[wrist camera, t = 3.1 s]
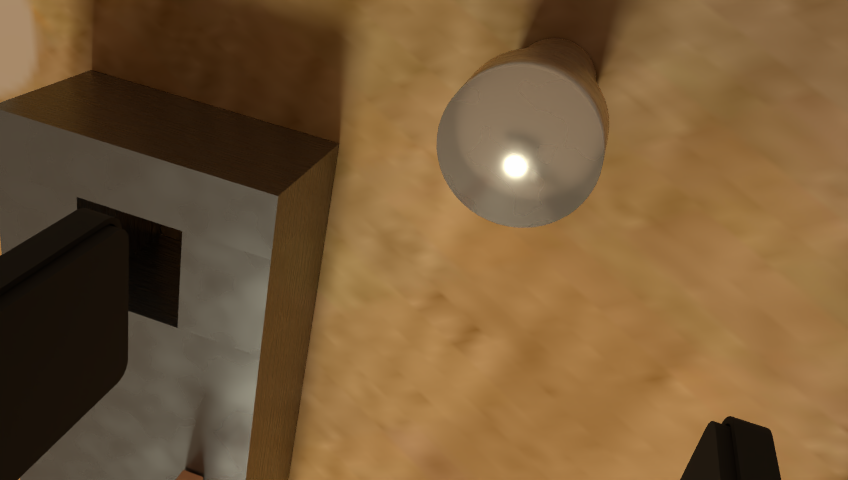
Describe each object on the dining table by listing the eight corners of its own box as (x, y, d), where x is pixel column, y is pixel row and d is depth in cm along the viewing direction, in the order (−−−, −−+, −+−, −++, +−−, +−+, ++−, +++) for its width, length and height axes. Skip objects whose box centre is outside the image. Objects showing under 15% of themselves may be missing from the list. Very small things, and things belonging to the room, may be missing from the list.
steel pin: (636, 34, 28) (627, 93, 20) (596, 155, 30) (575, 247, 23) (508, 1, 28) (455, 47, 21) (478, 122, 31) (422, 201, 24)
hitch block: (339, 143, 33) (278, 196, 28) (281, 527, 44) (230, 615, 39) (90, 70, 35) (-11, 106, 29) (96, 457, 46) (24, 532, 41)
